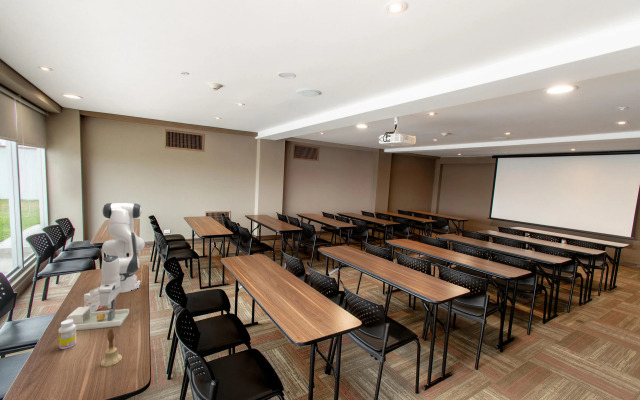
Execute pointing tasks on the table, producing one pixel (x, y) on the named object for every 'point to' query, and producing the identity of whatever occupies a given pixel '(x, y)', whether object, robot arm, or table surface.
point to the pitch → (89, 319)
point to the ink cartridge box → (93, 300)
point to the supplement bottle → (67, 334)
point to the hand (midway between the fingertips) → (111, 306)
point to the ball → (100, 316)
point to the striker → (111, 311)
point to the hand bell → (111, 352)
